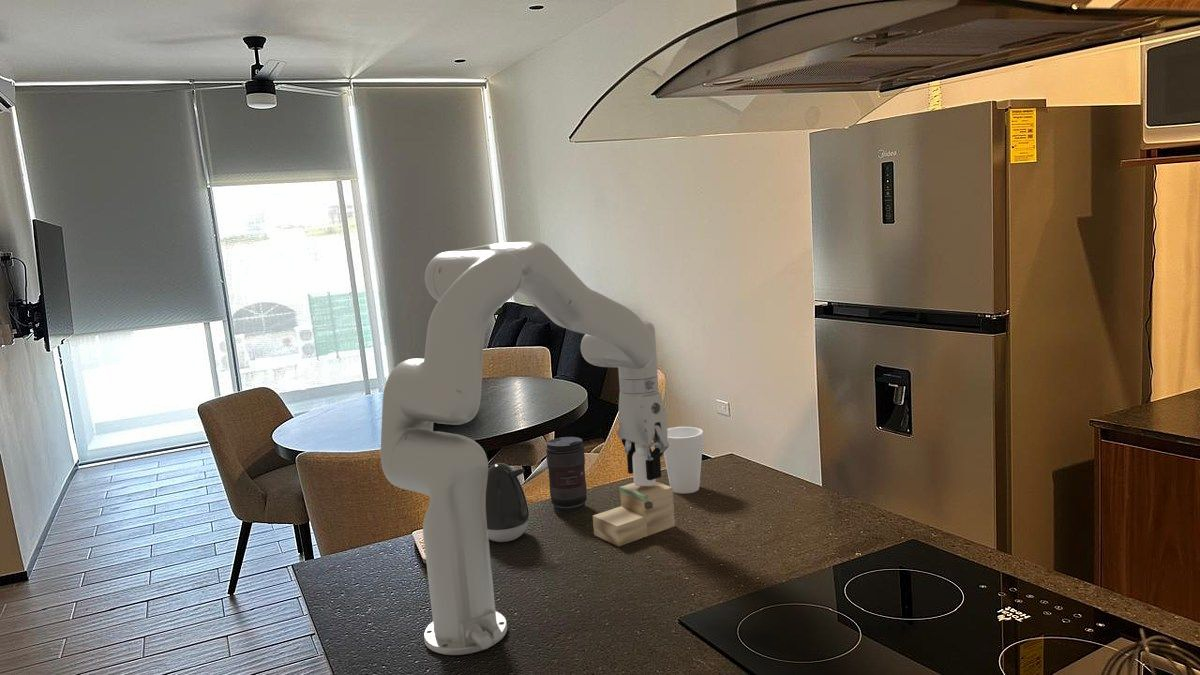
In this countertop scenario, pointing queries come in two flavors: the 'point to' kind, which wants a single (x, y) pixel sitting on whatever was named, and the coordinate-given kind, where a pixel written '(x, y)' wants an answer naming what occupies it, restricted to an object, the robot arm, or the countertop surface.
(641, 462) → the salt shaker
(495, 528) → the pump dispenser
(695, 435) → the foam cup
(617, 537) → the wooden step block
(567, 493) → the camera lens
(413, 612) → the countertop surface
